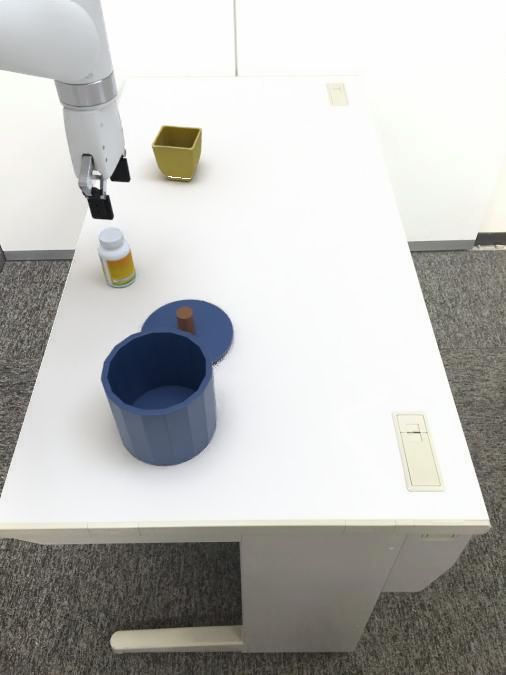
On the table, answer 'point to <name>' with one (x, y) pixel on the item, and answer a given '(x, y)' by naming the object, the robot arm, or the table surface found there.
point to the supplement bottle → (116, 258)
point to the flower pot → (177, 151)
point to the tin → (161, 395)
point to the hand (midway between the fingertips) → (112, 198)
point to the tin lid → (196, 323)
